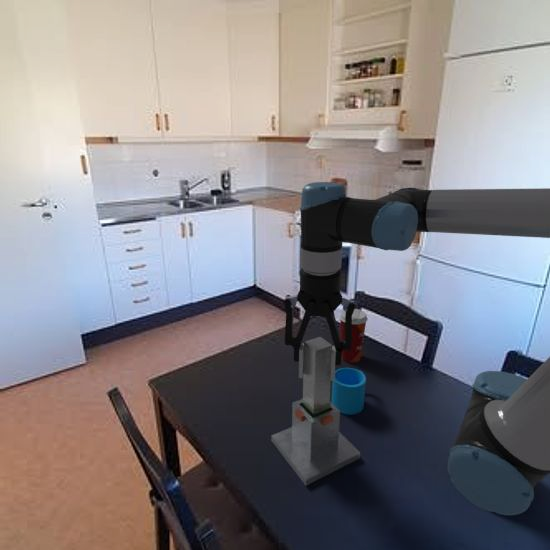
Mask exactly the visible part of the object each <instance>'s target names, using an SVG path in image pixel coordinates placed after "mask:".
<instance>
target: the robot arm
mask: <svg viewBox="0 0 550 550" xmlns="http://www.w3.org/2000/svg"><path fill="white" fill-rule="evenodd" d="M300 200H301V201H300V208H299V210H300V246H299V254H300V255H299V258H300V259H299V268H300V270H299V290H298V292H297V294H295V295H291V294H286V295H285V296H284V300H283V305H284V308H285V329H284V345H286V346H291V347H292V348H293V361H294V362H296V363H297V362H298V378H299V379H303V370H304V342H302V341H303V338H304V336H305V333H306V330H307V327H308V325H309V322H310V320H311V318H312V317H321V318H325V319H326V323H327V325H328V328H329V332H330V335H331V339H332V342H333V345H332V359H331V380H330V381H331V382H333V381H334V378H335V371H336V366H341V364H342V358H341V357H342V351H344V350H351V348H352V314H353V312H354V310H355V309H356V300H355V299H354V298H350V299H347V298H345V297H343V295H342V293H341V280H342V279H341V278H342V271H341V269H342V259H343V257H342V256H343V243H349V244H354V245H358V246H364V247H370V248H376V249H380V250H383V251H397V252H404V251H407V250H408V249H409V248H410V247H411V246H412V243H413V241H414V240H415V238H416V234H417V233H443V234H459V235H461V234H464V235H480V236H481V235H482V236H483V235H484V236H501V237H502V236H503V237H519V238H520V237H521V238H541V239H550V188H549V187H548V188H547V187H546V188H545V187H544V188H542V187H541V188H478V189H477V188H476V189H475V188H473V189H471V188H470V189H468V188H466V189H458V188H455V189H420V188H417V187H403V188H400V189H397V190H395V191H394V192H392V193H389V194H386V195H385V196H384V195H383V196H381V197H379V198H376V199H367V198H365V199H364V198H354V197H350V196H347V193H346V187H345V185H344V184H342V183H339V182H332V181H331V182H329V181H319V182H311V183H307V184H306V185H304V186H303V188H302V190H301V199H300ZM297 302H298V304H299V305H300V306H301V308H303V310H304V314H303V317H302V319H301V322H300V325H299V328H298V330H297V334H296V337H294V336H293V334H294V333H293V331H294V319H295V318H294V315H295V313H294V312H295V307H296V305H297ZM340 305H341V306H342V311H343V310H344V311H346V314H345V341H341V337H340V329H339V326H338V324H337V323H338V322H337V320H336V316H335V311H336V309H337V308H338V307H339V306H340ZM447 461H448V462H447V473H448V474H449V476H450V480H451V483H453V485H454V487H455V488H456V489H457V490H458V492H459V493H460V494H462V496H463V497H464V498H466V499H467V500H468V501H470V502H471V503H472V504H474V505H476V506H477V507H479V508H481V509H483V510H485V511H488V512H489V513H491V512H493V513H496V514H497V515H503V516H516V515H521V514H522V513H524V512H526V511H527V510H528V509H529V508H530V506H531V503H532V502H533V501H534V497H535V492H534V491H535V486H537V484H538V483H539V482H540V481H541V480H543V479H545V477H547V476H548V475H549V474H550V356H548V358H547V359H546V360H545V361H544V362H543V363H541V365H540V366H539V367H538V368H537V369H536V370H535V371H534V372H533V373H532V374H531V375H530V376H529V377H528V378H525V377H523V376H520V375H517V374H514V373H510V372H506V371H500V370H498V371H497V370H486V371H482V372H480V373H478V374H477V375H476V377H475V379H474V382H473V383H472V393H471V397H470V401H469V404H468V406H467V409H466V411H465V414H464V417H463V420H462V423H461V425H460V427H459V430H458V433H457V434H456V437H455V440H454V443H453V446H452V447H451V448H450V450H449V453H448V460H447Z"/></svg>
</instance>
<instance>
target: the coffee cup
mask: <svg viewBox="0 0 550 550" xmlns="http://www.w3.org/2000/svg"><path fill="white" fill-rule="evenodd" d="M345 314H346V311H344V310H343V309H342V311H341V312H340V314H339V320H340V321H339V322H340V326H339V327H340V329H339V334H340V337H341V341H345ZM367 321H368V317H367V313H366V312H365V311H364V310H361V309H358V308H355V310H354V312H353V314H352V348H351V350H344V351H342V357H341V361H344V362H347V363H350V364H351V363H357V362H360V360H361V357H362V351H363V347H364V345H363V344H364V339H365V332H366V331H365V330H366V325H367Z"/></svg>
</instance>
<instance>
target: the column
mask: <svg viewBox="0 0 550 550" xmlns="http://www.w3.org/2000/svg"><path fill="white" fill-rule="evenodd" d="M303 343H304V370H303V378H302V379H303V380H302V381H303V383H302V398H301V399H302V404H303V409H304V410H305V411H306V412H307V413H308V414H309V415H310V416H311V417H312V418H315V417H317V416H320V415H322V414H324V413H327V412H329V408H330V405H331V403H332V402H331V382H332V381H330V380H331V359H332V346H333V345H332V343H330V342H328V341H327V340H326V339H324V338H323V337H321V336H318V337H315V338H312V339H308V340H305V341H303ZM330 402H331V403H330Z"/></svg>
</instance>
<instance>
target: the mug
mask: <svg viewBox="0 0 550 550" xmlns="http://www.w3.org/2000/svg"><path fill="white" fill-rule="evenodd" d="M366 379H367V377H366V373H365V372H364V371H362V370H359V369H356V368H353V367H352V368H351V367H342V368H338V369H337V370H336V369H335V378H334V381H332V387H331V403H332V404H333V405H334V406H335V407H337V408H338V409H339V410H340V414H343V415H349V416H350V415H356V414H359V413H361V412H362V411H363V409H364V405H365V394H366V384H367V383H366V382H367V381H366Z"/></svg>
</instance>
